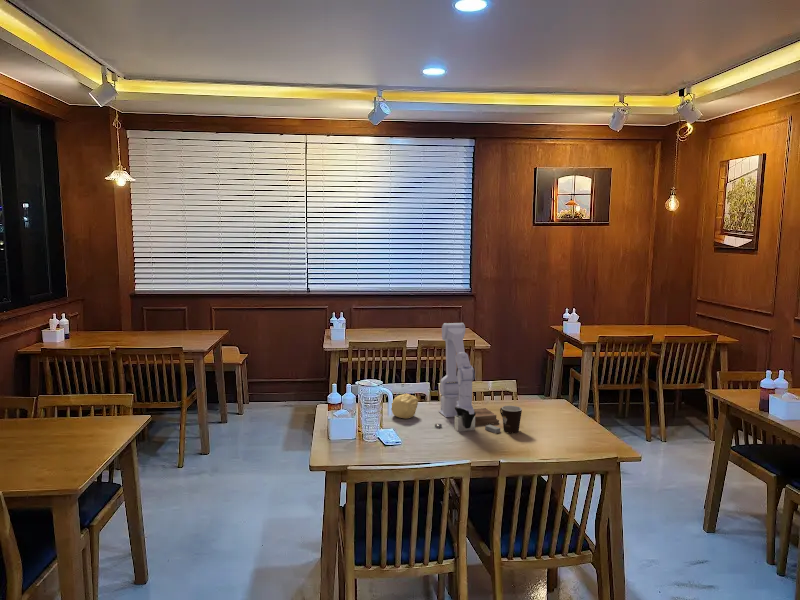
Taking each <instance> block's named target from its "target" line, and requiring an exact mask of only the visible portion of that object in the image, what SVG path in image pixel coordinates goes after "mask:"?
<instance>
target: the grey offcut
mask: <svg viewBox="0 0 800 600" xmlns="http://www.w3.org/2000/svg"><path fill="white" fill-rule="evenodd" d="M484 430H486V431H488V432H491V433H494V434H499V433H501V427H499V426H496V425H494V424H488V425H484Z"/></svg>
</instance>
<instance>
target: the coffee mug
mask: <svg viewBox="0 0 800 600" xmlns="http://www.w3.org/2000/svg"><path fill="white" fill-rule="evenodd" d="M522 410H523V409H522V407H520V406H516V405H504V406H502V407H500V409H499V413H500V415H501V417H502V426H503V427H502V429H503V432H504V433H507V434H518V433H519V429H520V426H521V418H522V412H523V411H522Z"/></svg>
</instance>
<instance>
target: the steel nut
mask: <svg viewBox="0 0 800 600" xmlns="http://www.w3.org/2000/svg"><path fill="white" fill-rule="evenodd" d="M442 425H443V424H441V423H435V424H434V428H435V429H442Z"/></svg>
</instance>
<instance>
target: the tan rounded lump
mask: <svg viewBox="0 0 800 600" xmlns="http://www.w3.org/2000/svg"><path fill="white" fill-rule="evenodd" d="M392 402H393V403H392ZM392 402H391V405H392V408H391V409H390V410H391V411H392V414H393V416H395V417H396V418H400V419H404V420H405V419H410V418H413V417H414V416H415V415H416V411H417V409H418V404H419V399H418V398H417V397H416V396H415V395H413V394H412V395H411V394H409V393H407V392H406V393H404V394H399V395H397V396H395V398H393V400H392Z"/></svg>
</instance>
